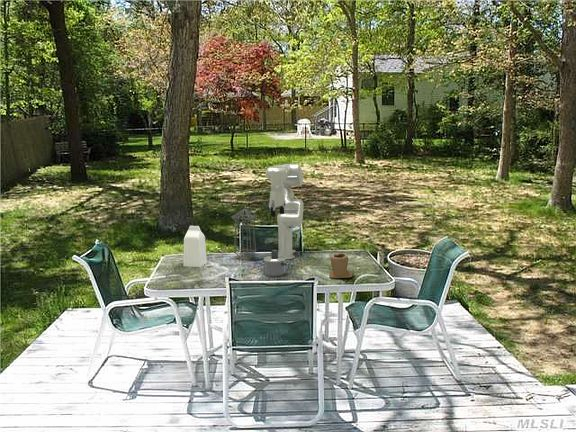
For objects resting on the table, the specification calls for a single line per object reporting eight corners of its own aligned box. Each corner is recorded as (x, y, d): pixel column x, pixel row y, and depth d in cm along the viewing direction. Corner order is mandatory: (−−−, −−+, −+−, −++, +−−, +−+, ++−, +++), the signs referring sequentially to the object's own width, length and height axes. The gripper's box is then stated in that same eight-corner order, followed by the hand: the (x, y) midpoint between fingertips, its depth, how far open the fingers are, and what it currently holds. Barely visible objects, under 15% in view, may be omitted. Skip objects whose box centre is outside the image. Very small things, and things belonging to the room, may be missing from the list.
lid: (272, 258, 352) (272, 247, 350) (290, 260, 344) (290, 249, 343) (259, 262, 341) (259, 251, 339) (277, 265, 333) (276, 253, 332)
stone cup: (330, 280, 327) (330, 255, 325) (328, 275, 339) (328, 251, 337) (355, 280, 327) (355, 255, 325) (353, 275, 339) (353, 251, 337)
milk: (183, 266, 364) (182, 227, 360) (190, 262, 375) (189, 224, 371) (200, 267, 361) (199, 227, 357) (207, 263, 372) (206, 224, 368)
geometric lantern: (230, 259, 380) (229, 209, 375) (239, 255, 395) (238, 206, 390) (252, 261, 376) (251, 210, 371) (260, 256, 391) (259, 207, 385)
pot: (269, 269, 353) (269, 256, 351) (291, 273, 343) (291, 259, 342) (258, 274, 343) (257, 259, 342) (280, 277, 334) (280, 263, 332)
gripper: (280, 186, 360) (280, 212, 363) (264, 190, 346) (264, 217, 349) (289, 187, 355) (289, 213, 359) (273, 191, 341) (274, 218, 345)
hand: (277, 215), depth 354 cm, fingers open, 9 cm apart
